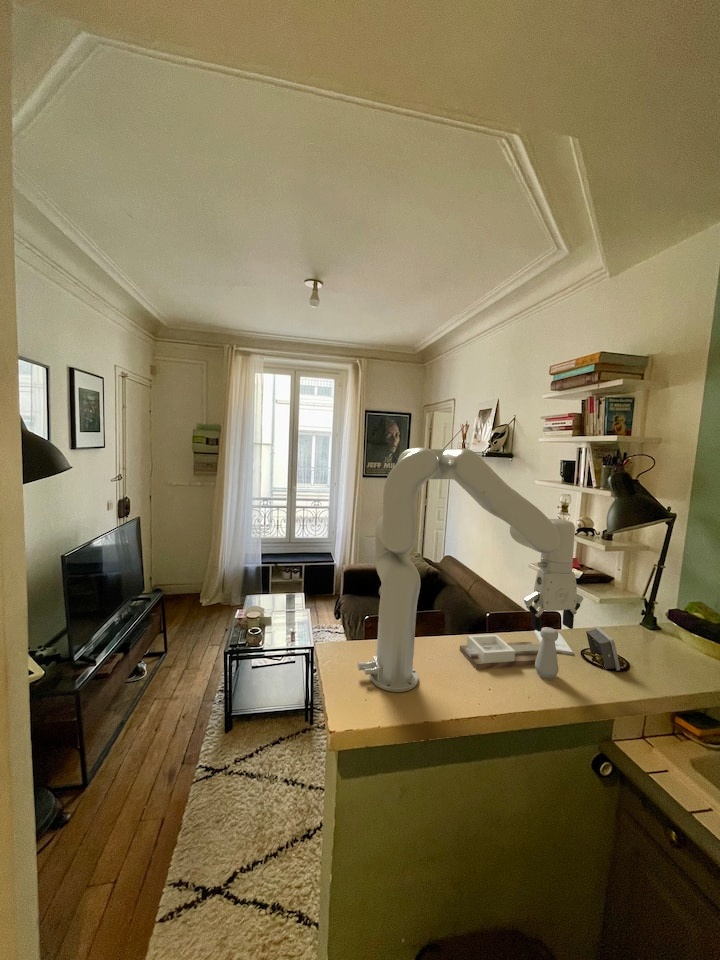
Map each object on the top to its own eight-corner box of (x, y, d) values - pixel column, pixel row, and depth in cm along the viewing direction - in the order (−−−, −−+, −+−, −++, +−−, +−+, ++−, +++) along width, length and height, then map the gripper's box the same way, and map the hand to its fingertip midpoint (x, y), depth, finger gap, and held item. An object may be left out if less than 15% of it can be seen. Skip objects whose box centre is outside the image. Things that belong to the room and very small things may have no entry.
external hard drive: (559, 637, 125) (573, 656, 113) (533, 634, 127) (544, 652, 115) (560, 633, 125) (573, 651, 113) (534, 629, 127) (544, 647, 114)
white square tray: (483, 663, 103) (484, 652, 103) (466, 645, 112) (467, 635, 112) (514, 661, 105) (515, 650, 105) (495, 643, 114) (496, 634, 114)
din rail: (470, 657, 106) (471, 654, 105) (464, 651, 109) (465, 647, 109) (544, 652, 110) (545, 649, 110) (537, 646, 114) (537, 643, 114)
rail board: (476, 669, 102) (476, 664, 102) (459, 650, 112) (459, 645, 112) (552, 663, 107) (552, 658, 107) (529, 646, 117) (530, 641, 117)
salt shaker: (557, 673, 103) (561, 627, 102) (558, 684, 97) (562, 636, 97) (533, 667, 105) (537, 622, 104) (534, 677, 100) (538, 631, 99)
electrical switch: (621, 672, 105) (620, 640, 104) (601, 672, 105) (601, 640, 105) (602, 654, 114) (602, 625, 114) (584, 654, 115) (584, 625, 114)
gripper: (536, 571, 94) (532, 637, 95) (595, 569, 97) (590, 632, 98) (518, 562, 101) (514, 623, 102) (573, 560, 105) (569, 619, 106)
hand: (552, 627), depth 100 cm, fingers open, 9 cm apart
